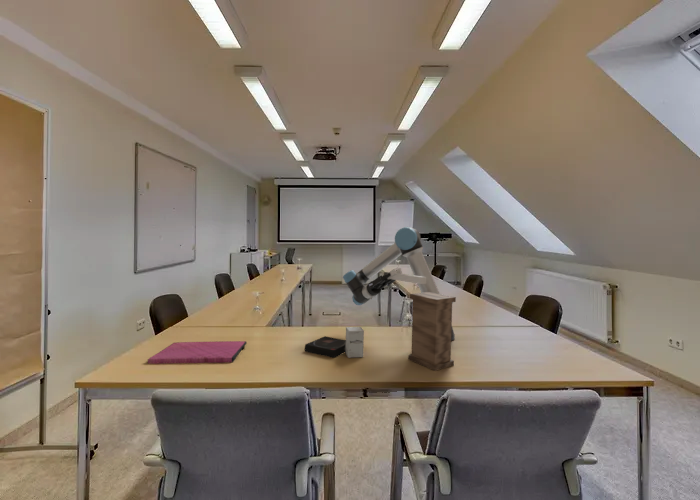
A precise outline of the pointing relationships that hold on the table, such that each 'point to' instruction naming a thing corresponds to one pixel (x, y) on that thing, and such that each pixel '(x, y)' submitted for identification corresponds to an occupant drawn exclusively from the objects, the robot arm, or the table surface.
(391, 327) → the table surface
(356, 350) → the supplement box
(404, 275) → the white long bar
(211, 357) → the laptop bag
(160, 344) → the table surface
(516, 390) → the table surface
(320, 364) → the table surface
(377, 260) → the robot arm
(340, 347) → the portable cd player
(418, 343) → the stand
